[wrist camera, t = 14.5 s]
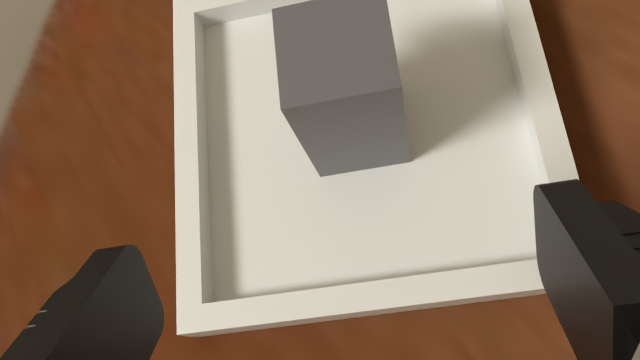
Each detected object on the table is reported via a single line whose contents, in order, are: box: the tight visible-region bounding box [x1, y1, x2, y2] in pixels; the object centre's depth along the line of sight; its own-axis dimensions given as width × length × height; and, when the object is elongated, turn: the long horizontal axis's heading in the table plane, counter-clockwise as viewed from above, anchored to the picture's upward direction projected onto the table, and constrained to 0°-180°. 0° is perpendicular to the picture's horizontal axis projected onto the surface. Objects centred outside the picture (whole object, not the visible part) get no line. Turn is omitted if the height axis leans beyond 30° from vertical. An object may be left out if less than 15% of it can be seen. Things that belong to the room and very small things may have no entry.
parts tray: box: [173, 0, 579, 337], centre depth 27 cm, size 18×18×2 cm
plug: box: [272, 0, 411, 177], centre depth 24 cm, size 4×6×8 cm
